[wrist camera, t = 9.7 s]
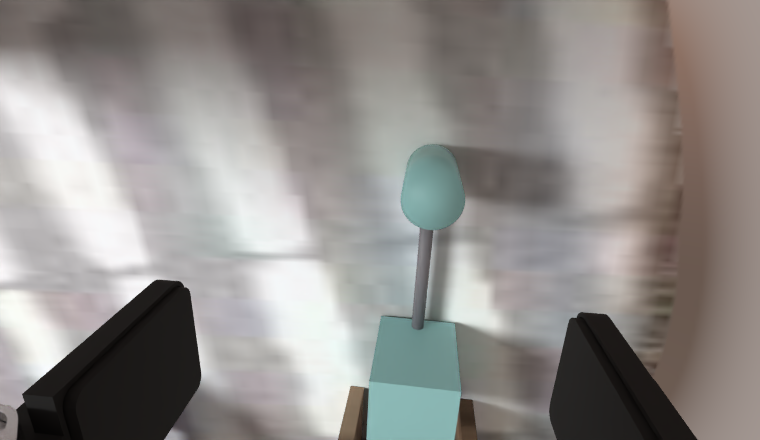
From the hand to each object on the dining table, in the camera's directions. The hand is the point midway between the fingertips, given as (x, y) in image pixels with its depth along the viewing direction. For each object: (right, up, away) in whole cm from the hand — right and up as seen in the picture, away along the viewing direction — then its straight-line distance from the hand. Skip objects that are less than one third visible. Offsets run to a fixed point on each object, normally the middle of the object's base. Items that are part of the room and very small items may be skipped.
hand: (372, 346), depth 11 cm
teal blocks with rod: (+3, 0, +18) cm, 18 cm away
